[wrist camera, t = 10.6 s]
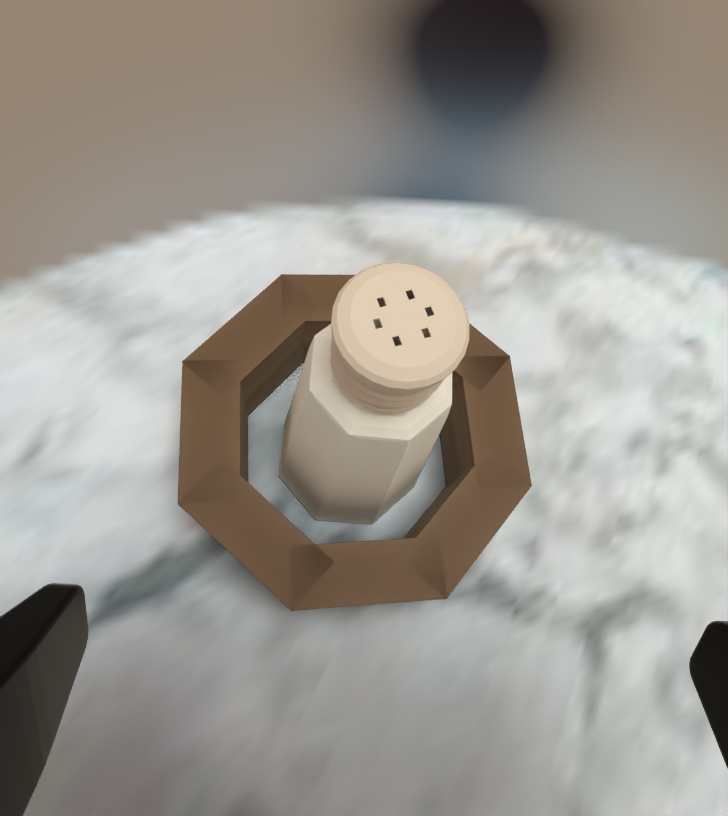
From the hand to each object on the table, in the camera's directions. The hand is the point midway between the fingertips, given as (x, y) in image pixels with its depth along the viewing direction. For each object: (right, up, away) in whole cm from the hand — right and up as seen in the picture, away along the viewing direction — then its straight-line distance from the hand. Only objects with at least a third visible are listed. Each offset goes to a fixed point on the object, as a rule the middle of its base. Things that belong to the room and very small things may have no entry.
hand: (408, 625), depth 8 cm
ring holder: (-1, +1, +13) cm, 13 cm away
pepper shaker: (-1, +1, +13) cm, 14 cm away
